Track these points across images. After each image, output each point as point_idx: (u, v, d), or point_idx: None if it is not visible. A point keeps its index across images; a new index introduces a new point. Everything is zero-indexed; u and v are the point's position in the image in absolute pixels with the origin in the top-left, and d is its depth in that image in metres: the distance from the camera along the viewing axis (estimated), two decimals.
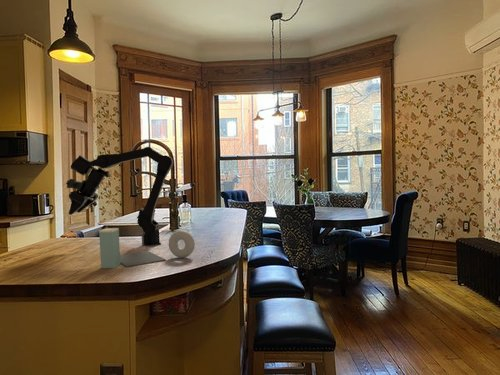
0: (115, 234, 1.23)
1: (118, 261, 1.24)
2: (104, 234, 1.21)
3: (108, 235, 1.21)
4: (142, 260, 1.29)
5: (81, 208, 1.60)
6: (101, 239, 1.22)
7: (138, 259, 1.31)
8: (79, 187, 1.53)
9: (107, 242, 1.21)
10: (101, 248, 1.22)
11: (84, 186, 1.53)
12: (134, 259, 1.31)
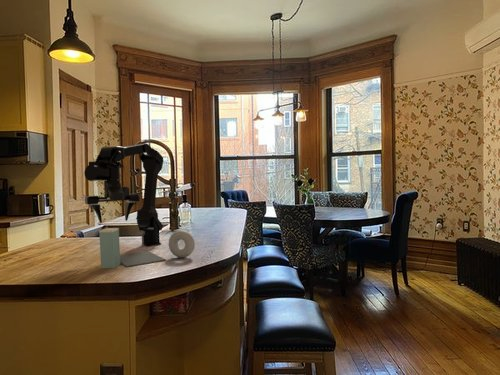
0: (115, 234, 1.23)
1: (118, 261, 1.24)
2: (104, 234, 1.21)
3: (108, 235, 1.21)
4: (142, 260, 1.29)
5: None
6: (101, 239, 1.22)
7: (138, 259, 1.31)
8: None
9: (107, 242, 1.21)
10: (101, 248, 1.22)
11: None
12: (134, 259, 1.31)
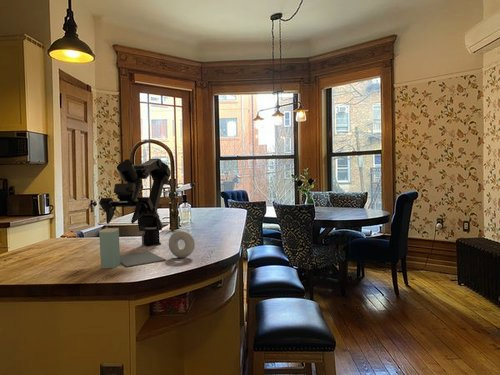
0: (115, 234, 1.23)
1: (118, 261, 1.24)
2: (104, 234, 1.21)
3: (108, 235, 1.21)
4: (142, 260, 1.29)
5: (110, 219, 1.34)
6: (101, 239, 1.22)
7: (138, 259, 1.31)
8: (133, 194, 1.36)
9: (107, 242, 1.21)
10: (101, 248, 1.22)
11: (134, 193, 1.38)
12: (134, 259, 1.31)
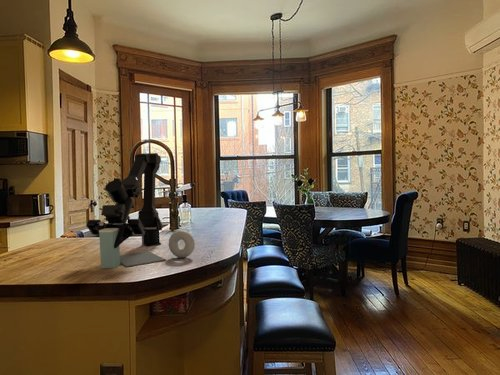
0: (115, 234, 1.23)
1: (118, 261, 1.24)
2: (104, 234, 1.21)
3: (108, 235, 1.21)
4: (142, 260, 1.29)
5: None
6: (101, 239, 1.22)
7: (138, 259, 1.31)
8: (123, 215, 1.27)
9: (107, 242, 1.21)
10: (101, 248, 1.22)
11: (124, 215, 1.29)
12: (134, 259, 1.31)
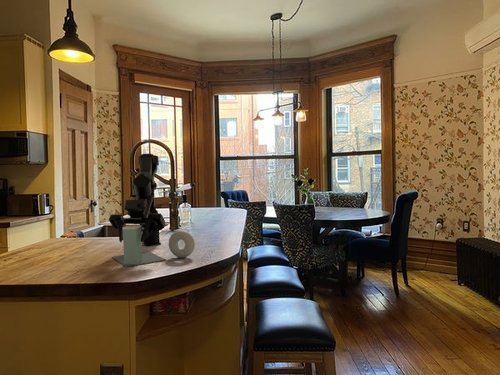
0: (138, 231, 1.25)
1: (140, 258, 1.27)
2: (127, 231, 1.24)
3: (131, 232, 1.23)
4: None
5: (122, 237, 1.27)
6: (124, 236, 1.24)
7: None
8: (144, 210, 1.30)
9: (130, 239, 1.24)
10: (124, 245, 1.24)
11: None
12: None
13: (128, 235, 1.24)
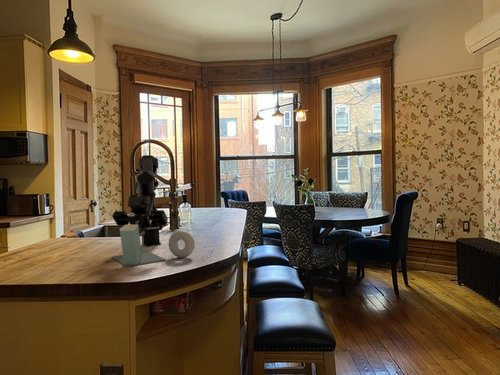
0: (135, 231, 1.24)
1: (140, 257, 1.26)
2: (125, 232, 1.22)
3: (129, 233, 1.22)
4: (142, 260, 1.29)
5: None
6: (122, 237, 1.22)
7: None
8: (147, 207, 1.32)
9: (128, 240, 1.22)
10: (123, 246, 1.23)
11: (148, 206, 1.34)
12: None
13: (126, 236, 1.22)
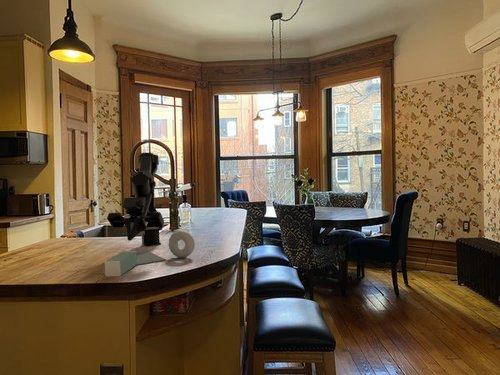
0: (122, 267, 1.13)
1: (134, 256, 1.22)
2: None
3: None
4: (142, 260, 1.29)
5: None
6: None
7: (138, 259, 1.31)
8: (143, 208, 1.28)
9: None
10: None
11: (144, 208, 1.30)
12: None
13: None
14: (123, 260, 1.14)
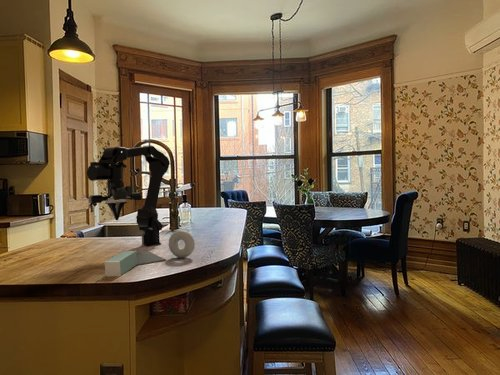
0: (122, 267, 1.13)
1: (134, 256, 1.22)
2: None
3: None
4: (142, 260, 1.29)
5: None
6: None
7: (138, 259, 1.31)
8: None
9: None
10: None
11: None
12: None
13: None
14: (123, 260, 1.14)
